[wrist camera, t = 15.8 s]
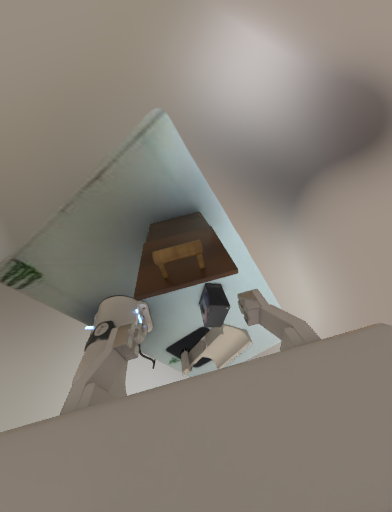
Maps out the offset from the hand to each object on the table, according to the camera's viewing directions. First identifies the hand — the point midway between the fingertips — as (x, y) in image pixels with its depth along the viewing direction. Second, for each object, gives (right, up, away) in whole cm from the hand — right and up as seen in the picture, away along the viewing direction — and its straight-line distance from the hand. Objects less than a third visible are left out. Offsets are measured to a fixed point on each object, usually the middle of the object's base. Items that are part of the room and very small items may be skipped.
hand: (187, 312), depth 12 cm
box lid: (-2, +4, +13) cm, 14 cm away
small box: (+6, -10, +46) cm, 47 cm away
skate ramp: (+9, -37, +63) cm, 73 cm away
